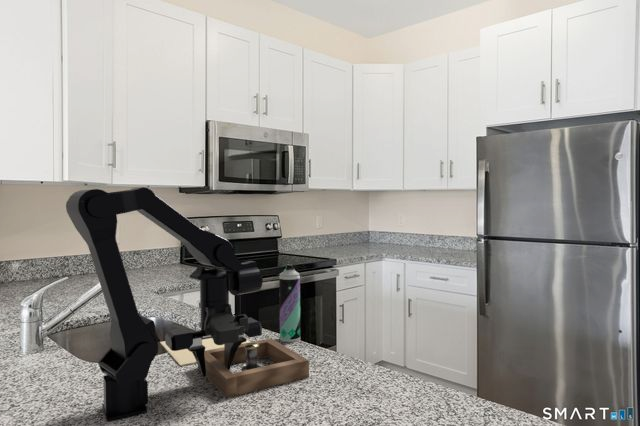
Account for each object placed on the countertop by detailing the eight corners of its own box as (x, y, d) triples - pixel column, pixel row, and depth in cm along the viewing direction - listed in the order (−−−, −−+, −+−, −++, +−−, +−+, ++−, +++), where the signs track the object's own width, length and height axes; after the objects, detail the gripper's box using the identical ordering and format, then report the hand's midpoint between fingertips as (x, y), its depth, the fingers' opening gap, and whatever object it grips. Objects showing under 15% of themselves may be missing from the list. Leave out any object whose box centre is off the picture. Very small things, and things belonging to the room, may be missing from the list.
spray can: (275, 339, 119) (274, 264, 119) (291, 334, 123) (290, 262, 123) (289, 343, 115) (288, 266, 115) (304, 339, 119) (304, 264, 119)
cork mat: (180, 366, 100) (180, 365, 100) (160, 343, 117) (160, 341, 117) (262, 350, 110) (262, 348, 110) (232, 330, 127) (232, 329, 127)
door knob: (246, 377, 93) (245, 349, 93) (238, 371, 97) (238, 343, 97) (265, 373, 95) (265, 345, 95) (257, 366, 99) (256, 340, 99)
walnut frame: (226, 397, 84) (226, 378, 83) (197, 367, 99) (197, 352, 99) (309, 376, 93) (308, 360, 93) (271, 352, 108) (271, 338, 108)
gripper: (178, 313, 80) (180, 399, 80) (273, 300, 89) (274, 377, 90) (164, 301, 89) (165, 379, 89) (250, 291, 99) (251, 361, 99)
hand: (215, 374), depth 92 cm, fingers open, 5 cm apart
